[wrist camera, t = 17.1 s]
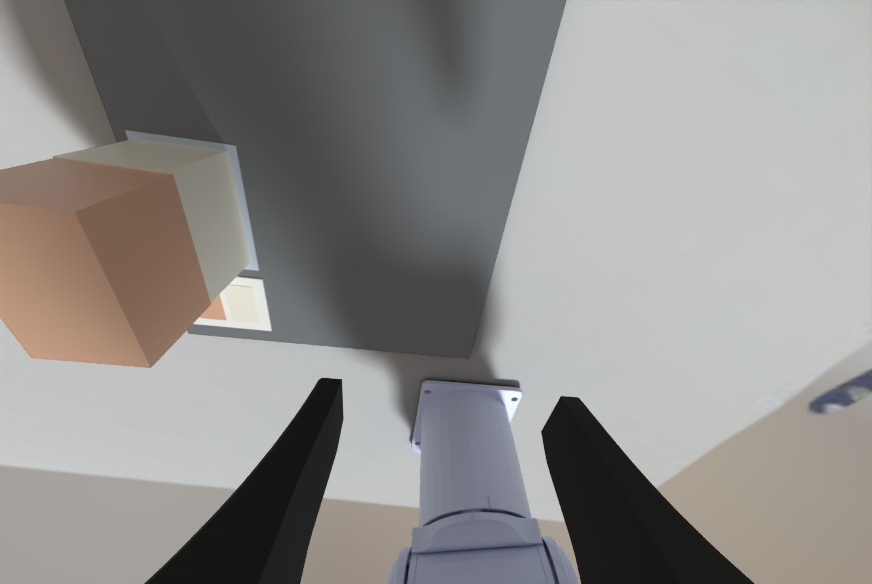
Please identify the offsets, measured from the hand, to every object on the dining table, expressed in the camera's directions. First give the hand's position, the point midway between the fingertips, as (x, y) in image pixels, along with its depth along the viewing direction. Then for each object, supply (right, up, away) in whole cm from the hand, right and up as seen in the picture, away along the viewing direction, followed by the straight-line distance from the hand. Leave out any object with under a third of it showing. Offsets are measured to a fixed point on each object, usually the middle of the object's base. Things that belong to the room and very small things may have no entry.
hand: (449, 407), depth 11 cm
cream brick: (-13, +8, +6) cm, 16 cm away
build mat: (-6, +9, +7) cm, 12 cm away
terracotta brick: (-13, +6, +3) cm, 14 cm away
